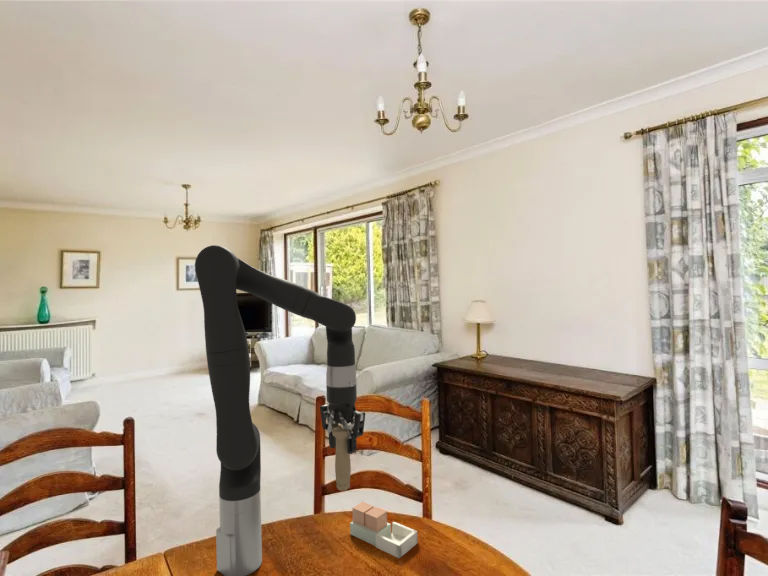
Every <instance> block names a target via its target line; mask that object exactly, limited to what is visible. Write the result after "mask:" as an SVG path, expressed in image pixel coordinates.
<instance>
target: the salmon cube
mask: <svg viewBox="0 0 768 576" xmlns="http://www.w3.org/2000/svg"><path fill="white" fill-rule="evenodd" d="M387 522H388V511H387V510H385V509H382V508H379V507H376V506H374V508H372V509H371V510H369V511H368V512H366V513H365V527H367V528H369V529H372V530H374V531H376V532H378V531H379V530H381V529H382V528H383V527H385V526H386V525H387Z"/></svg>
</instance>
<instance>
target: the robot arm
mask: <svg viewBox="0 0 768 576" xmlns="http://www.w3.org/2000/svg"><path fill="white" fill-rule="evenodd" d="M194 271H195V274H196V275H195V276H196V278H197V279H196V280H197V283H198V287H199V291H200V296H201V301H202V305H203V306H202V307H203V318H204V319H203V321H204V322H203V324H204V325H203V326H204V339H205V352H206V353H205V354H206V362H207V370H208V375H209V382H210V389H211V393H212V397H213V398H212V399H213V402H214V408H215V409H214V410H215V416H216V417H215V419H216V426H215V427H216V455H217V458H218V459H217V460H218V461H219V462H220V472H219V473H220V475H219V483H218V484H219V485H218V494H219V496H218V497H219V499H218V501H219V527H217V528H216V530H215V534H216V535H215V537H216V538H215V540H216V543H215V545H216V546H215V547H216V548H215V549H216V571H218V572H219V573H220V574H222V575H223V576H249V575H250V574H253V573H254V572H255V571H257V570H258V569H259V568H260V567H261V565H262V562H263V551H262V550H263V547H262V545H263V544H262V500H261V498H262V497H261V496H262V495H261V491H262V490H261V473H262V472H261V471H262V470H261V469H262V467H261V458H262V457H261V454H262V453H261V435H260V434H261V433H260V431H259V429H258V427H257V426H256V424H254V423H253V421H252V420H253V419H252V415H251V409H250V408H251V407H250V406H251V405H250V392H251V391H250V390H251V359H250V352H249V351H250V350H249V343H248V338H247V334H246V329H245V327H244V323H243V320H242V316H241V313H240V309H239V305H238V298H237V297H238V296H237V295H238V294H237V290H238V291H242V292H245V293H248V294H250V295H253V296H255V297H258V298H260V299H262V300H264V301H265V302H268V303H270V304H272V305H274V306H276V307H278V308H280V309H282V310H284V311H286V312H289V313H292V314H294V315H296V316H299V317H301V318H305V319H308V320H311V321H314V322H316V323H317V324H320V325H322V326H324V327H325V332H326V335H325V336H326V342H327V343H326V344H327V345H326V346H327V347H326V348H327V349H326V364H327V365H326V371H325V372H326V377H325V378H326V379H325V381H326V382H325V384H326V402H327V403H326V404H322V405H320V407H319V409H320V410H319V412H320V419H321V427H322V430H326V431H327V433H328V444H329V448H330V449H334V448H335V449H336V437H334V436H333V434H332V429H333V427H334V426H336V425H337V426H338V425H339V424H341V425H343V429H344V430H345V431H347V436H348V439H347V452H348V454H350V455H353V454H355V453H356V452H357V438H358V437H362V436H363V435H364V429H365V420H366V412H365V411H361V412H360V411H358V410H357V409H356V402H357V399H358V397H357V393H358V392H357V391H358V390H357V371H356V352H355V349H356V348H355V344H354V342H353V328H354V326H355V324H356V321H357V315H356V312H355V310H354V308H353V307H351V306H350V305H349V304H347V303H344V302H341V301H339V300H335V299H333V298H329V297H327V296H324V295H322V294H320V293H318V292H316V291H315V290H312V289H310V288H307V287H305V286H304V285H301V284H298V283H295V282H293V281H290V280H287V279H285V278H281V277H278V276H275V275H272V274H269V273H267V272H265V271H262V270H260V269H258V268H256V267H254V266H252V265H250V264H249V263H247V262H246V261H244V260H242V259H240V258H239V257H237V256H236V255H235V253H233V251H231V250H230V249H228V248H227V247H225V246H221V245H217V244H216V245H215V244H214V245H209V246H206V247H205V248H202V250H200V252H199V253H198V254H197V256H196V259H195V261H194ZM347 424H348V425H347ZM350 428H351V429H352V433H351V430H350Z"/></svg>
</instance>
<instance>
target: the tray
mask: <svg viewBox="0 0 768 576" xmlns="http://www.w3.org/2000/svg"><path fill="white" fill-rule="evenodd" d="M375 536H376V546H375V548H377V549H378V550H381V551H383V552H385V553H387V554H388V555H392V556H393V557H395V558H397V559H401V558H402V557H403V556H405V554H407V553H408V552H409V551H410V550H411V549H412V548H414V547H415V546H416V545H417V544H418V531H417V530H416V529H413V528H412V527H408V526H406V525H403V524H402V523H399V522H396V521H393V522H391V534H390V535H389V536H388V537H384V536H382V535H380V534H376V535H375Z"/></svg>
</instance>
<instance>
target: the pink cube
mask: <svg viewBox="0 0 768 576" xmlns="http://www.w3.org/2000/svg"><path fill="white" fill-rule="evenodd" d="M374 507H375V506H374V505H372V504H369V503H367V502H364V501H361V502H359V503H357V504H356V505H355V506H353V507H352V521H354V522H356V523H358V524H360V525H363V526H365V513H366V512H368V511H369V510H371V509H372V508H374Z"/></svg>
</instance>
